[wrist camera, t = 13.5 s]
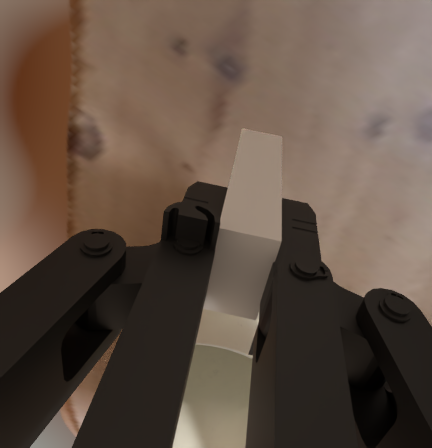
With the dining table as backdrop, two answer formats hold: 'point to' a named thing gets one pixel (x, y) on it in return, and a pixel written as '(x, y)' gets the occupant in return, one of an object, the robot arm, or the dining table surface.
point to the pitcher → (218, 384)
